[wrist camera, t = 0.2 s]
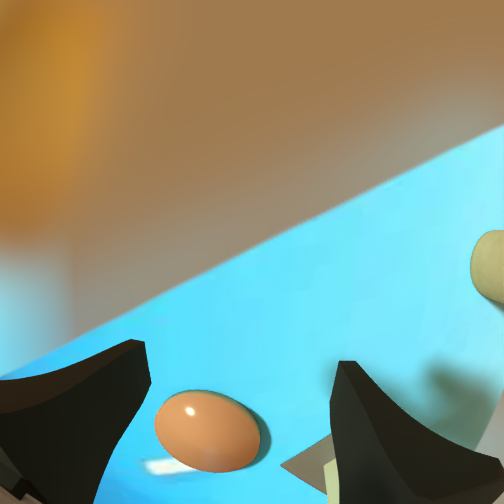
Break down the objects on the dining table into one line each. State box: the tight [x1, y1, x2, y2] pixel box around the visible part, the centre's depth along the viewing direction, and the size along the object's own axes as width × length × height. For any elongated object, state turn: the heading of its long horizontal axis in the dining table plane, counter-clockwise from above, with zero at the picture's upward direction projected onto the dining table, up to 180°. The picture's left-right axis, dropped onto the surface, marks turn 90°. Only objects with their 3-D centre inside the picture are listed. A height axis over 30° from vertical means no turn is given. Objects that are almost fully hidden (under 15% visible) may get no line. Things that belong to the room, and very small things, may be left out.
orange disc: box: [154, 390, 260, 473], centre depth 22 cm, size 9×9×1 cm
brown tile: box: [280, 433, 336, 495], centre depth 21 cm, size 10×10×1 cm
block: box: [324, 458, 339, 504], centre depth 17 cm, size 4×4×7 cm
